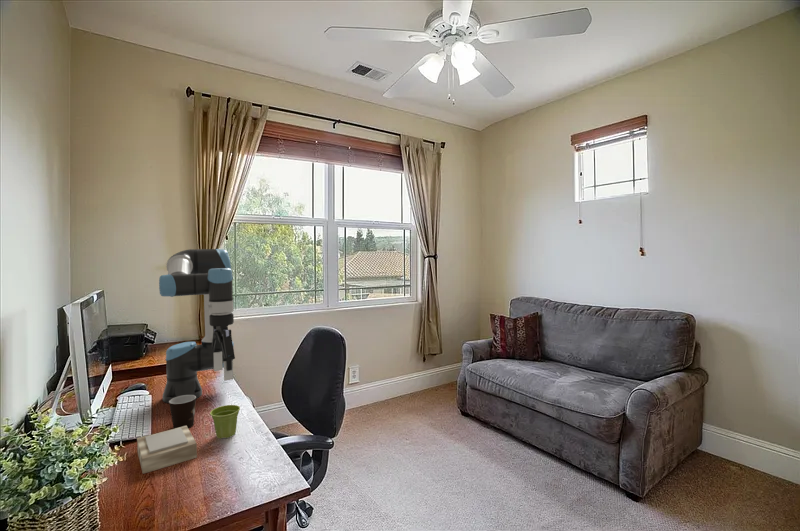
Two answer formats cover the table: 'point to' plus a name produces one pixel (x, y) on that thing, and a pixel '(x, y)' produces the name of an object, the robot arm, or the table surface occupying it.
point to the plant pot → (225, 420)
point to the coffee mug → (183, 410)
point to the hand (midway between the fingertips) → (223, 374)
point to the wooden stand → (166, 448)
